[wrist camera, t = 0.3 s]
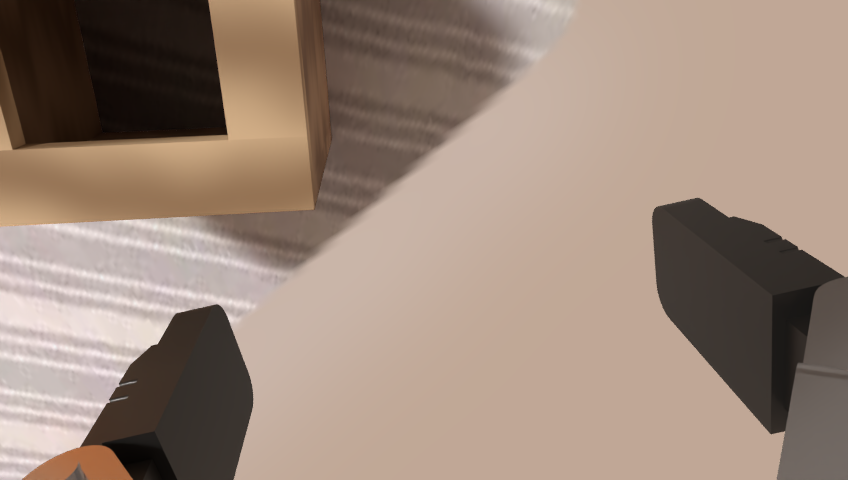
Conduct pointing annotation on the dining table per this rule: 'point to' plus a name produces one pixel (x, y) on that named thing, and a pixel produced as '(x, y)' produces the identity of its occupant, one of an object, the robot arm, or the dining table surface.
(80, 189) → the walnut box
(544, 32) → the dining table surface
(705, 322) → the robot arm
